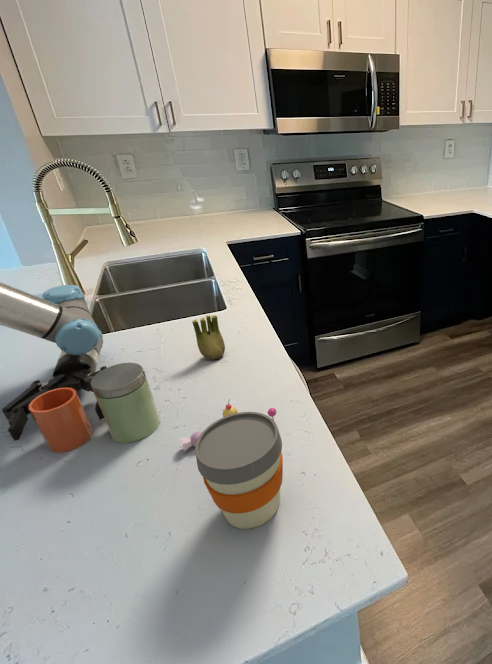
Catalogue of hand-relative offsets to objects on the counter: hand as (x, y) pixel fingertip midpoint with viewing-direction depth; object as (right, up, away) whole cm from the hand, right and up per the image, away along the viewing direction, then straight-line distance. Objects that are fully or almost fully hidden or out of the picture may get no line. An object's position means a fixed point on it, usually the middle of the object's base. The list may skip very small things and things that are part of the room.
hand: (57, 424), depth 79 cm
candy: (+31, -3, +6) cm, 31 cm away
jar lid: (+10, +9, +2) cm, 14 cm away
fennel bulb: (+17, +10, +31) cm, 37 cm away
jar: (+10, -3, +8) cm, 13 cm away
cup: (-1, -4, +5) cm, 6 cm away
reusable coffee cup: (+40, -11, -9) cm, 42 cm away
